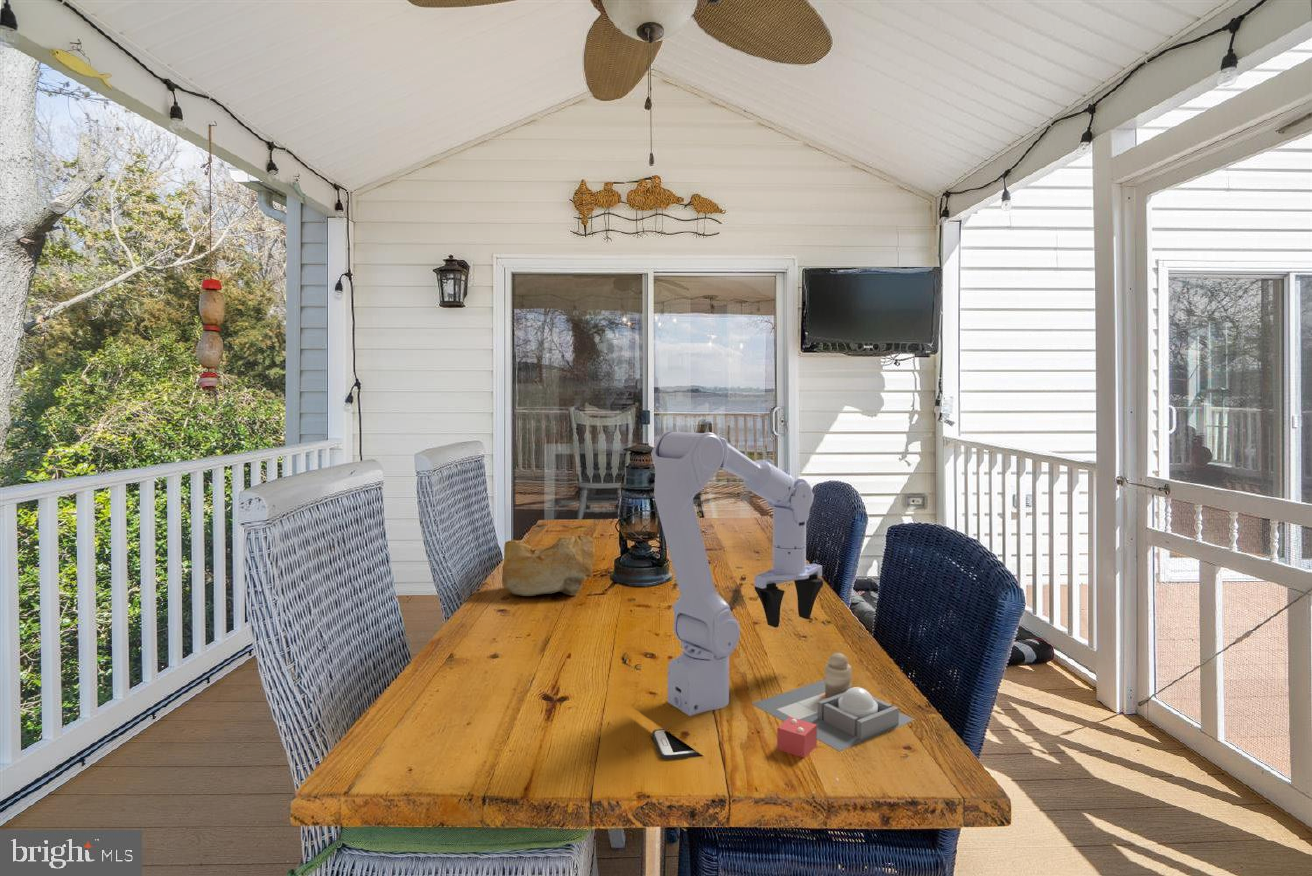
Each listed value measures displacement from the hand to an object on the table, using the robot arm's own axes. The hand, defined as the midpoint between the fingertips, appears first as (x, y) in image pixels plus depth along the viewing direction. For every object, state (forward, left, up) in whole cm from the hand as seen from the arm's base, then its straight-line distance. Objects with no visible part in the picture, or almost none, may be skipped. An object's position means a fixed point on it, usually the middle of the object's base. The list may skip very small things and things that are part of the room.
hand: (789, 621), depth 124 cm
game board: (-7, -16, -9) cm, 20 cm away
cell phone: (-27, -11, -10) cm, 31 cm away
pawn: (-2, -13, -8) cm, 16 cm away
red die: (-19, -21, -9) cm, 30 cm away
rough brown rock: (-11, +73, -10) cm, 74 cm away
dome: (-6, -20, -8) cm, 23 cm away
